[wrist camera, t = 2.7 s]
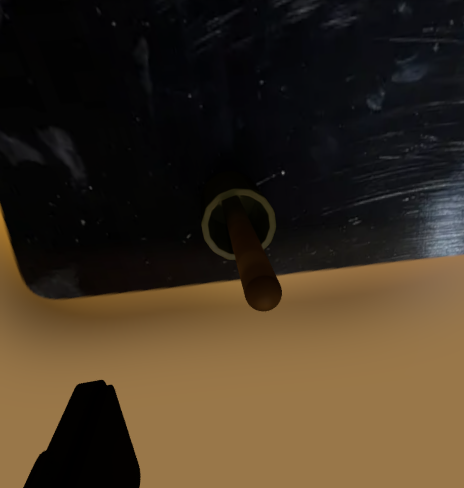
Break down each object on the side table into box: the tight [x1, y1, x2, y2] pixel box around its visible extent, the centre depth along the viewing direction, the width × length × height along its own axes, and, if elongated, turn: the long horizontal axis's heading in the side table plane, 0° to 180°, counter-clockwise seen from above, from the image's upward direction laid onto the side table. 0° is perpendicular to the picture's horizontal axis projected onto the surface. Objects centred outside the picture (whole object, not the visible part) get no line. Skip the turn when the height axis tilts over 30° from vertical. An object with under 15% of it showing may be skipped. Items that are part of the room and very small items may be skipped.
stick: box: [222, 195, 282, 311], centre depth 21 cm, size 1×1×16 cm
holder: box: [201, 171, 276, 260], centre depth 26 cm, size 4×4×7 cm
